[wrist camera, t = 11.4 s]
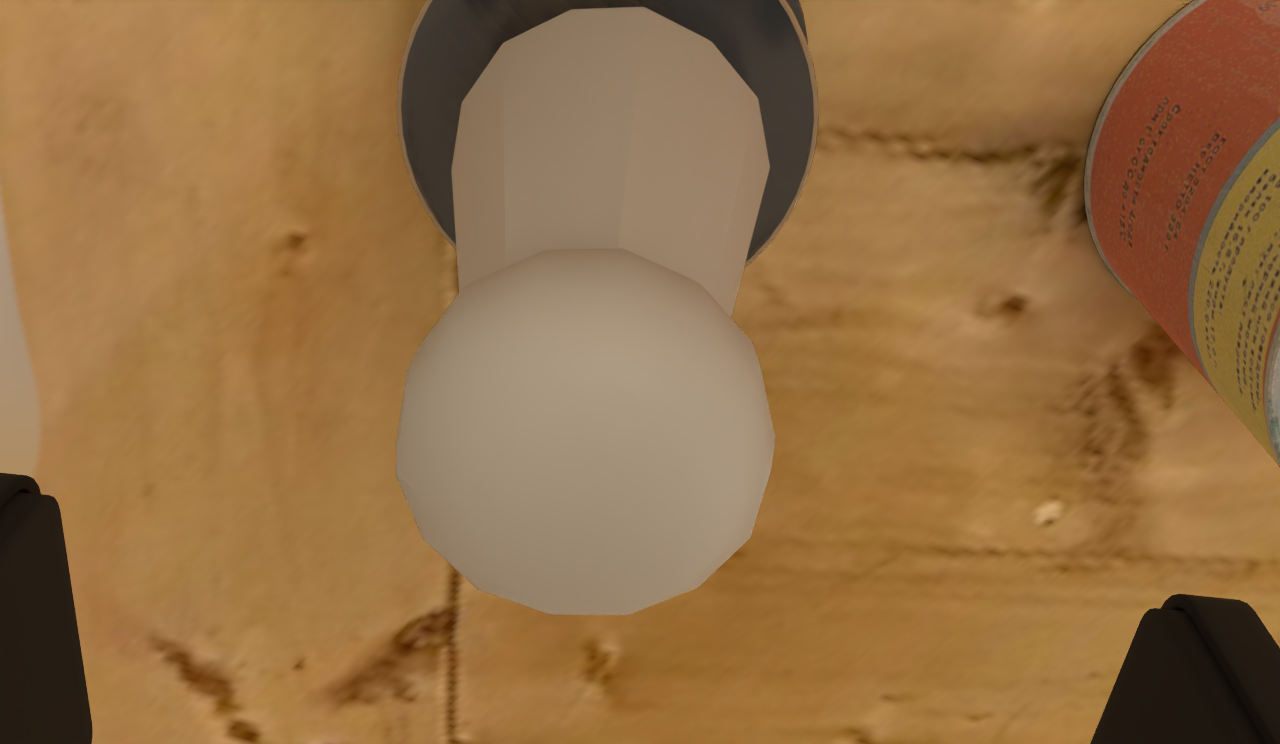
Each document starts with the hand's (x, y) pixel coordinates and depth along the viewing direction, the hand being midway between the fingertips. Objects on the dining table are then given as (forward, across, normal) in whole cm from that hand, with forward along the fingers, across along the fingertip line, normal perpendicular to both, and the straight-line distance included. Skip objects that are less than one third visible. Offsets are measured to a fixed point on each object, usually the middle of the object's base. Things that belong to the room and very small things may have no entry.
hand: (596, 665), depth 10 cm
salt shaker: (+16, 0, 0) cm, 16 cm away
